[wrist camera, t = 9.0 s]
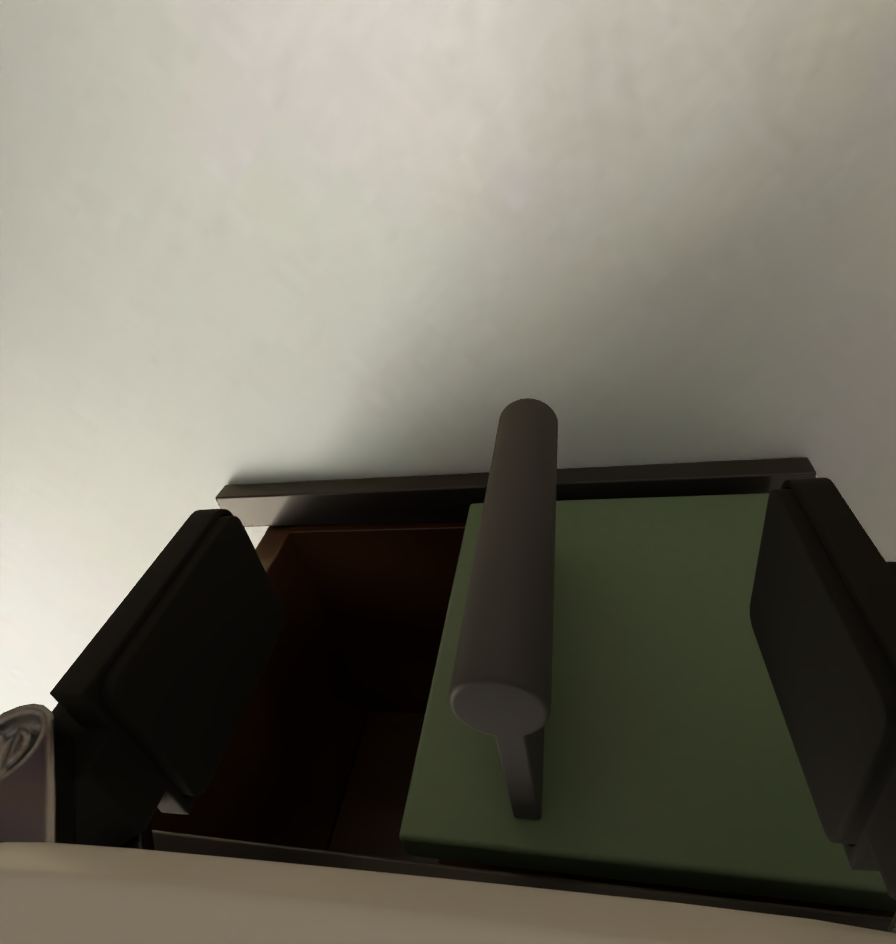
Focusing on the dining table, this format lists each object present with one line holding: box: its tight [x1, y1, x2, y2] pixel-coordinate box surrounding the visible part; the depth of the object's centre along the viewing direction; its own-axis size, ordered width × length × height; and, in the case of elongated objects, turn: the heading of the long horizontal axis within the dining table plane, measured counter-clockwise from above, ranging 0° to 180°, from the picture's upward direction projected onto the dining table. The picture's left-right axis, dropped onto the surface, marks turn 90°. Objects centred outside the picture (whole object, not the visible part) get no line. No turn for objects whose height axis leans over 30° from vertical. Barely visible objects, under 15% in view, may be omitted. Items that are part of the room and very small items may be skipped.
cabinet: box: [151, 457, 895, 932], centre depth 18 cm, size 14×19×12 cm
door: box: [399, 398, 896, 912], centre depth 12 cm, size 5×9×10 cm, turn 100°
